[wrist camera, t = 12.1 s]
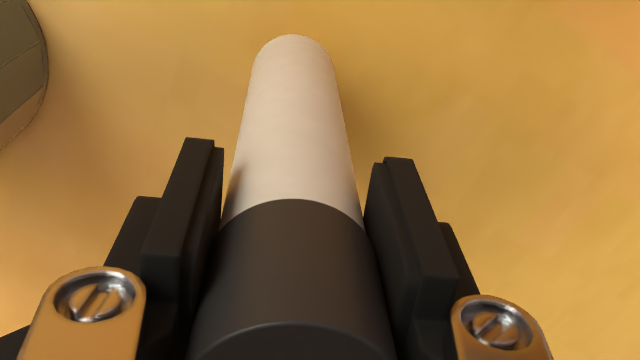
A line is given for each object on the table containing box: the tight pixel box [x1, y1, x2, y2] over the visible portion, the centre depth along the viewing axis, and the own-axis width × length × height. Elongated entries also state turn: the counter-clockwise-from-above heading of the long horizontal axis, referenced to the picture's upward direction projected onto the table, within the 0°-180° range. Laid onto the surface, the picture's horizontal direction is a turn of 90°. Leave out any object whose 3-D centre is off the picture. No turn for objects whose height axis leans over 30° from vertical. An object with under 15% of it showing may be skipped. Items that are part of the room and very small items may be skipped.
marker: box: [184, 34, 398, 360], centre depth 14 cm, size 3×3×14 cm
